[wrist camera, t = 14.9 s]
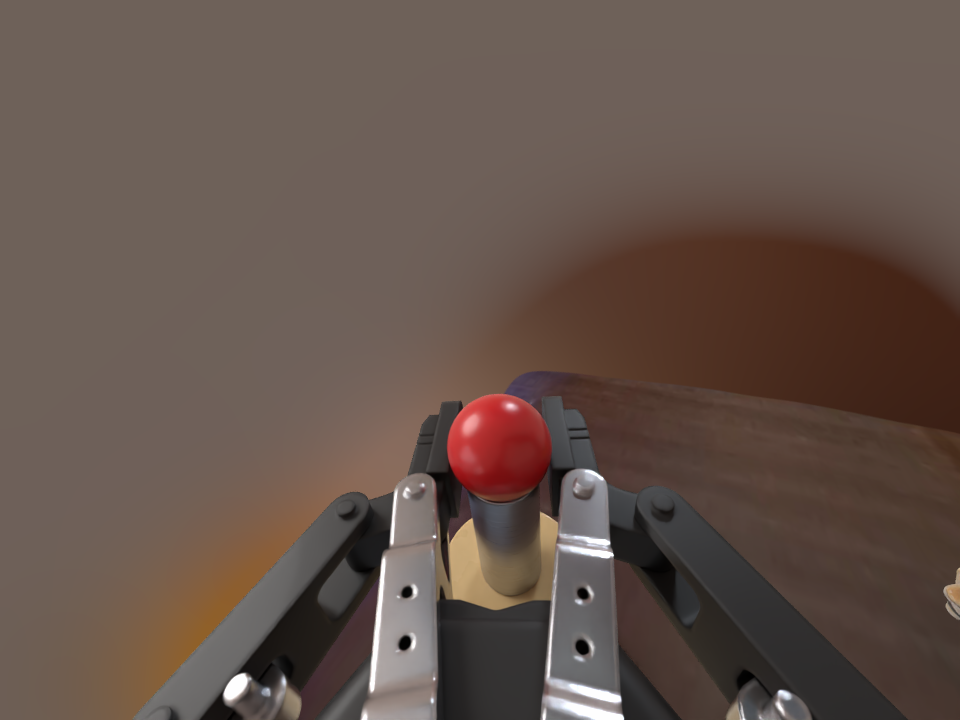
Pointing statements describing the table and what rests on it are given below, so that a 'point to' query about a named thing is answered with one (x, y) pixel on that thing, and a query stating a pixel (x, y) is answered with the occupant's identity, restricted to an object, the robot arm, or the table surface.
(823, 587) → the table surface
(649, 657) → the table surface
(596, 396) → the table surface
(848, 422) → the table surface
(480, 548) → the red ball post
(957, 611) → the lion figurine
